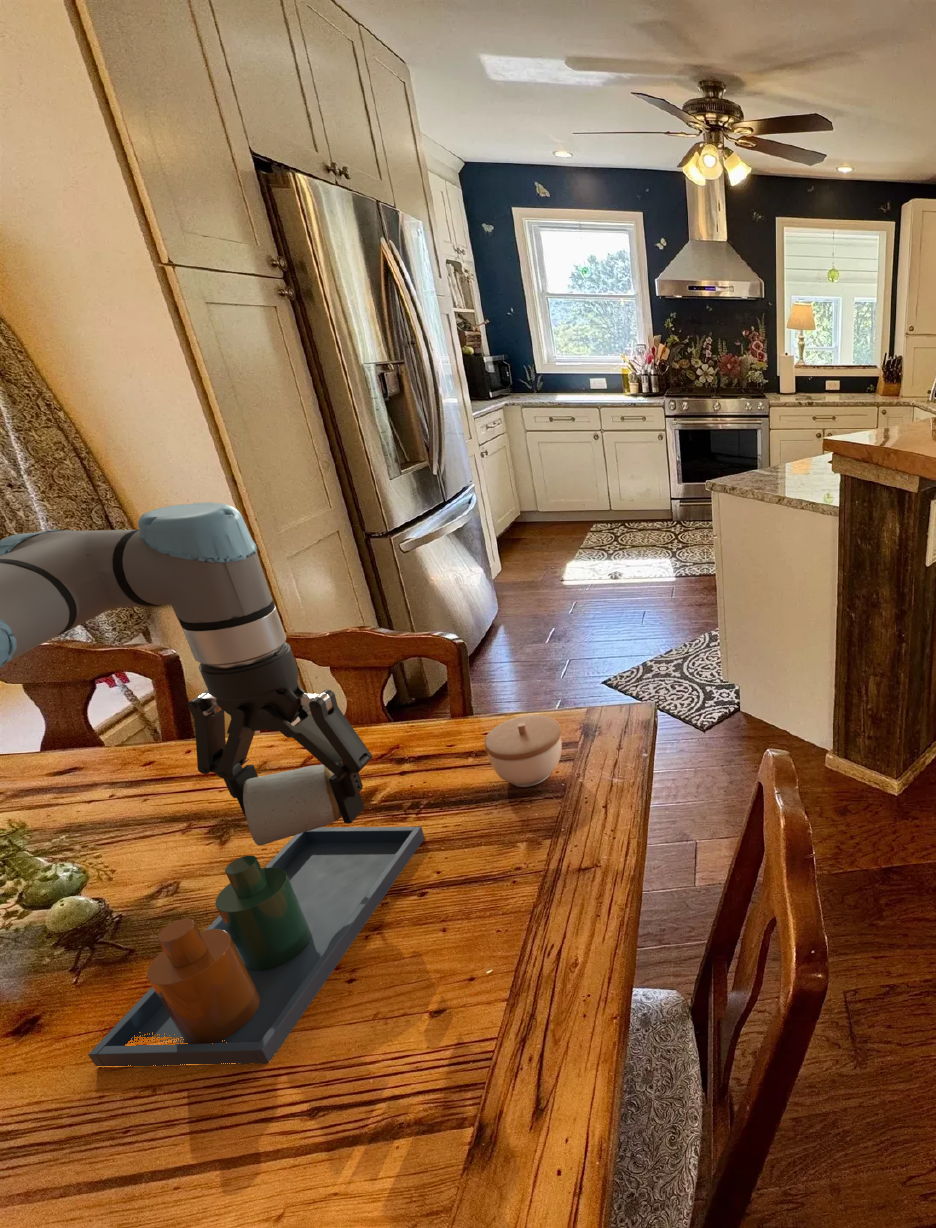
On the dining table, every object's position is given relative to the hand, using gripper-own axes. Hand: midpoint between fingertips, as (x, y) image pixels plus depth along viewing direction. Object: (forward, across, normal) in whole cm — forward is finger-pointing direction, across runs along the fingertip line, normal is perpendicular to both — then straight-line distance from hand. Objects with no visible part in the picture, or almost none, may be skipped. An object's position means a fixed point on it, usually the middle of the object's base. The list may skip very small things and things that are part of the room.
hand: (307, 815), depth 78 cm
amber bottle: (+10, 0, +18) cm, 20 cm away
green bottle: (+10, 0, +10) cm, 14 cm away
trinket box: (+11, -17, -22) cm, 30 cm away
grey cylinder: (+1, +1, 0) cm, 1 cm away
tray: (+11, 0, +8) cm, 13 cm away
